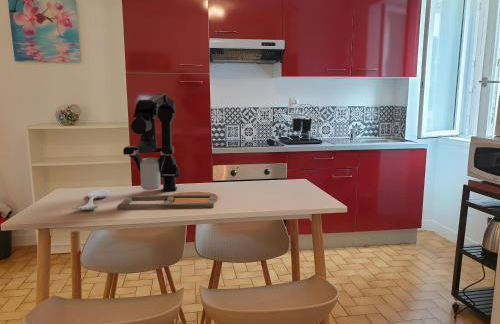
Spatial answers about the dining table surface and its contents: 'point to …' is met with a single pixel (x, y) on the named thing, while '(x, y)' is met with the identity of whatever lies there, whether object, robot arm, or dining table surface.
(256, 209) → the dining table surface
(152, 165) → the can
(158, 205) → the ladder rack
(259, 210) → the dining table surface
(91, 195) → the spoon
